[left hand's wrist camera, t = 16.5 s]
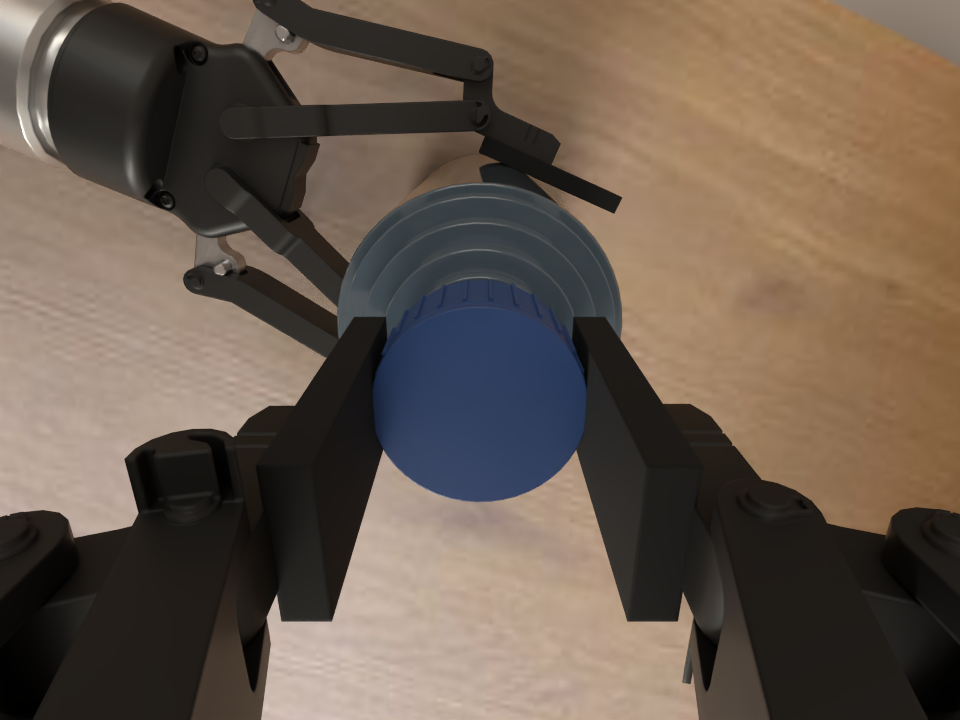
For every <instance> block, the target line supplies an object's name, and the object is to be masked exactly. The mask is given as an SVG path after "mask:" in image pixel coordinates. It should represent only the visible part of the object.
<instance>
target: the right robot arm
mask: <svg viewBox="0 0 960 720" xmlns="http://www.w3.org/2000/svg"><path fill="white" fill-rule="evenodd" d="M253 2H254V4H255V6H256V8H257V11H256V13H255V15H254V18H253V20H252V23H251V25H250V27H249V30H248V32H247V35H246V37H245V39H244V42H243V44H240V43H234V44H227V45H220V44H215V43H213V42H210V41H208V40H206V39H204V38H202V37H199V36H197V35H195V34H193V33H190V32H188V31H186V30H184V29H181V28H179V27H177V26H175V25H172V24H170V23H168V22H166V21H163V20H161V19H159V18H157V17H155V16H152V15H150V14H148V13H146V12H143V11H141V10H139V9H137V8H134V7H132V6H130V5H128V4H124V3H113V2H112V1H111V0H0V145H3V146H5V147H8V148H10V149H12V150H15V151H17V152H20V153H22V154H25V155H27V156H30V157H32V158H35V159H37V160H39V161H42V162H44V163H47V164H49V165H52V166H54V167H57V168H68V169H70V170H71V171H72V172H73V173H75V174H76V175H78V176H80V177H82V178H85V179H87V180H89V181H92V182H94V183H97V184H99V185H102V186H104V187H107V188H109V189H112V190H114V191H117V192H119V193H122V194H124V195H127V196H129V197H132V198H134V199H137V200H139V201H142V202H144V203H147V204H149V205H152V206H155V207H157V208H160V209H163V210H166V211H168V212H171V213H173V214H174V215H176V216H177V217H179V218H180V219H181V220H182V221H183V222H184V223H185V224H186V225H187V226H188V227H189V228H190V229H191V230H192V231H193V232H195V233H196V234H197V237H196V252H195V266H194V268H192V269H190V270H188V271H187V272H186V273H185V274H184V278H183V281H184V285H185V286H186V288H187V289H188V290H189V291H190V292H192V293H195V294H198V295H203V296H207V297H211V298H216V299H220V300H224V301H228V302H232V303H234V304H235V305H237V306H239V307H240V308H242V309H244V310H246V311H247V312H249V313H251V314H252V315H254V316H256V317H257V318H259V319H261V320H263V321H264V322H266V323H268V324H269V325H271V326H273V327H274V328H276V329H278V330H280V331H281V332H283V333H285V334H286V335H288V336H290V337H291V338H293V339H295V340H297V341H298V342H300V343H302V344H303V345H305V346H307V347H308V348H310V349H312V350H313V351H315V352H317V353H319V354H320V355H322V356H324V357H325V358H327V357H328V356H329V354H330V353H331V351H332V350H333V348H334V346H335V345H336V343H337V342H338V340H339V336H338V323H337V316H336V315H334V314H332V313H331V312H329V311H327V310H326V309H324V308H322V307H321V306H319V305H318V304H316V303H314V302H313V301H311V300H309V299H308V298H306V297H304V296H303V295H301V294H299V293H298V292H296V291H295V290H293V289H291V288H290V287H288V286H286V285H285V284H283V283H281V282H280V281H278V280H276V279H275V278H273V277H271V276H270V275H268V274H266V273H264V272H262V271H261V270H258V269H256V268H253V267H251V266H247V265H246V262H245V258H244V256H242V255H241V254H240V253H239V252H237V251H235V250H233V249H232V248H231V247H229V245H228V244H227V241H226V236H227V235H231V234H235V233H239V232H244V231H248V230H252V231H253V232H254V233H255V234H256V235H257V236H258V237H259V238H260V239H261V240H262V241H263V242H264V243H265V244H266V245H267V246H268V247H269V248H271V249H272V250H273V251H274V252H276V253H278V254H281V255H283V256H284V257H286V258H287V259H288V260H289V261H290V262H291V263H292V264H293V265H294V266H295V267H296V268H297V269H298V270H299V271H300V272H301V273H302V274H303V275H304V276H305V277H307V278H308V279H309V280H310V281H311V282H312V283H313V284H314V285H315V286H316V287H317V288H318V289H319V290H320V291H321V292H322V293H323V294H324V295H325V296H326V297H327V298H328V299H329V300H330V301H331V302H333V303H334V304H335V305H336V306H337V307H338V300H339V295H340V290H341V285H342V281H343V279H344V276H345V273H346V270H347V267H348V265H349V263H348V262H347V261H346V260H345V259H344V258H343V257H342V256H341V255H340V254H339V253H338V252H337V251H336V250H335V249H334V248H333V247H332V246H331V245H330V244H329V243H328V242H327V241H326V240H325V239H324V238H323V237H322V236H321V235H320V234H319V233H318V232H317V230H316V229H315V227H314V225H313V223H312V222H311V221H310V219H309V218H308V217H307V216H306V215H305V214H304V213H303V212H302V211H301V210H300V209H299V208H300V207H301V206H302V202H303V199H304V196H305V192H306V174H307V172H308V171H309V169H310V167H311V166H312V164H313V163H314V161H315V159H316V156H317V153H318V149H319V146H320V144H319V143H317V136H343V135H373V134H404V133H434V132H465V131H475V132H477V133H479V134H481V135H484V136H485V138H484V140H483V143H482V145H481V148H480V150H479V153H480V154H483V155H485V156H487V157H489V158H492V159H494V160H496V161H498V162H500V163H503V164H505V165H507V166H509V167H512V168H514V169H516V170H518V171H520V172H523V173H525V174H527V175H529V176H532V177H534V178H536V179H538V180H540V181H543V182H545V183H547V184H549V185H552V186H554V187H556V188H558V189H560V190H563V191H565V192H567V193H569V194H572V195H574V196H576V197H578V198H580V199H583V200H585V201H587V202H589V203H592V204H594V205H596V206H598V207H600V208H603V209H605V210H607V211H609V212H612V213H615V211H616V209H617V207H618V205H619V203H620V201H621V199H622V197H620V196H618V195H616V194H614V193H612V192H610V191H608V190H605V189H603V188H601V187H599V186H597V185H594V184H592V183H590V182H588V181H586V180H583V179H581V178H579V177H577V176H575V175H572V174H570V173H568V172H566V171H564V170H561V169H559V168H557V167H555V166H553V165H551V164H552V162H553V160H554V157H555V155H556V153H557V151H558V148H559V146H560V143H559V141H558V140H557V139H556V138H555V137H554V136H553V135H552V134H550V133H548V132H546V131H544V130H542V129H539V128H537V127H535V126H533V125H531V124H529V123H527V122H524V121H522V120H520V119H518V118H516V117H514V116H511V115H509V114H507V113H505V112H503V111H501V110H500V109H499V108H498V107H497V106H496V105H495V103H494V101H493V98H492V82H493V60H492V57H491V55H490V54H489V53H488V52H487V51H485V50H483V49H480V48H476V47H472V46H468V45H463V44H459V43H455V42H451V41H447V40H442V39H438V38H434V37H430V36H426V35H422V34H417V33H413V32H409V31H405V30H401V29H397V28H392V27H388V26H384V25H380V24H376V23H372V22H367V21H363V20H359V19H355V18H351V17H347V16H342V15H338V14H334V13H330V12H326V11H322V10H317V9H313V8H311V7H310V6H308V5H307V4H305V3H304V2H302V1H301V0H253ZM309 42H311V43H313V44H315V45H317V46H319V47H322V48H324V49H327V50H330V51H333V52H337V53H341V54H346V55H350V56H354V57H358V58H363V59H367V60H371V61H375V62H380V63H384V64H388V65H392V66H397V67H401V68H405V69H410V70H414V71H418V72H422V73H427V74H431V75H435V76H439V77H444V78H448V79H452V80H456V81H461V82H464V92H463V101H435V102H405V103H375V104H345V105H301V104H300V103H299V101H298V100H297V98H296V97H295V95H294V94H293V92H292V91H291V89H290V88H289V86H288V84H287V83H286V81H285V80H284V78H283V77H282V75H281V74H280V72H279V71H278V69H277V68H276V66H275V65H274V63H273V62H272V58H273V57H274V55H275V54H277V53H278V52H281V51H286V52H290V53H293V54H299V53H302V52H303V51H304V50H305V49H306V47H307V45H308V43H309Z"/></svg>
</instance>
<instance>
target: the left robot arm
mask: <svg viewBox="0 0 960 720" xmlns="http://www.w3.org/2000/svg"><path fill="white" fill-rule="evenodd" d="M386 342H387V325H386V317H354V318H353V319H352V321H351V322H350V324H349V325H348V327H347V328H346V330H345V331H344V333H343V334H342V336H341V337H340V339H339V340H338V342H337V343H336V345H335V346H334V348H333V350H332V351H331V353H330V354H329V356H328V357H327V359H326V360H325V362H324V363H323V365H322V366H321V368H320V369H319V371H318V372H317V374H316V375H315V377H314V378H313V380H312V381H311V383H310V384H309V386H308V387H307V389H306V390H305V392H304V393H303V395H302V396H301V398H300V399H299V401H298V402H297V404H296V405H295V406H268V407H267V408H265V409H263V410H262V411H260V412H259V413H257V414H255V415H254V416H252V417H250V418H249V419H248V420H247V421H246V423H245V424H244V425H243V426H242V428H241V429H240V430H239V431H238V433H237V436H234V438H233V437H232V436H230V435H229V434H228V433H226V432H223V431H219V430H214V429H190V430H184V431H179V432H173V433H170V434H167V435H164V436H161V437H158V438H155V439H152V440H150V441H148V442H146V443H145V444H143V445H141V446H139V447H137V448H136V449H134V450H133V451H132V452H131V453H130V454H129V455H128V456H127V457H126V458H125V463H126V467H127V471H128V474H129V478H130V482H131V486H132V490H133V493H134V497H135V501H136V505H137V509H138V512H139V514H138V516H137V518H136V520H135V522H134V523H133V525H132V526H130V527H127V528H123V529H118V530H113V531H108V532H103V533H98V534H92V535H87V536H82V537H77V538H74V537H73V533H72V530H71V527H70V524H69V521H68V519H67V518H65V517H64V516H63V515H62V514H60V513H58V512H51V511H45V510H40V511H30V512H19V513H14V514H10V516H7V515H6V516H2V517H0V720H261V716H262V708H263V700H264V692H265V685H266V677H267V669H268V661H269V654H270V646H271V643H270V636H269V629H268V623H267V618H266V617H267V615H268V613H269V610H270V608H271V606H272V603H273V601H274V599H275V597H276V594H277V597H278V603H279V609H280V615H281V621H332V619H333V616H334V613H335V609H336V606H337V603H338V599H339V596H340V593H341V589H342V586H343V582H344V579H345V576H346V572H347V569H348V566H349V562H350V559H351V556H352V552H353V549H354V546H355V542H356V539H357V536H358V532H359V529H360V526H361V522H362V519H363V516H364V512H365V509H366V505H367V502H368V499H369V495H370V492H371V489H372V485H373V482H374V479H375V475H376V472H377V469H378V465H379V462H380V459H381V455H382V452H383V448H382V446H381V444H380V442H379V440H378V437H377V435H376V431H375V419H374V406H373V392H372V387H373V382H374V379H375V373H376V371H377V368H378V366H379V364H380V361H381V359H382V357H383V355H381V353H382V351H383V349H384V347H385V344H386ZM572 342H573V344H574V346H575V349H576V351H577V352H576V353H577V355H578V357H579V360H580V362H581V364H582V367H583V369H584V378H585V381H586V385H587V397H586V411H585V424H584V433H583V436H582V439H581V441H580V443H579V445H578V447H577V449H576V451H577V454H578V457H579V461H580V464H581V467H582V471H583V474H584V477H585V481H586V484H587V487H588V491H589V494H590V498H591V501H592V504H593V508H594V511H595V514H596V518H597V521H598V524H599V528H600V531H601V534H602V538H603V541H604V544H605V548H606V551H607V555H608V558H609V561H610V565H611V568H612V571H613V575H614V578H615V581H616V585H617V588H618V591H619V595H620V598H621V601H622V605H623V608H624V612H625V615H626V618H627V621H678V617H679V611H680V605H681V599H682V593H684V595H685V597H686V600H687V602H688V604H689V607H690V609H691V611H692V613H693V616H694V618H693V623H692V629H691V635H690V640H689V646H688V651H687V657H686V663H685V668H684V675H683V683H688V684H691V678H692V673H693V676H694V683H695V691H696V699H697V707H698V714H699V720H960V514H957V513H954V512H953V513H950V511H946V510H941V509H928V508H918V507H916V508H909V509H903V510H900V511H899V512H897V513H896V514H895V515H893V516H892V518H891V521H890V524H889V527H888V531H887V534H886V535H881V534H876V533H871V532H866V531H861V530H855V529H850V528H845V527H840V526H836V525H832V524H828V523H827V522H826V520H825V519H824V517H823V515H822V513H821V511H820V510H819V509H818V508H817V507H816V506H815V504H814V503H813V502H812V501H811V500H809V499H808V498H806V497H805V496H803V495H802V494H800V493H799V492H797V491H796V490H793V489H791V488H788V487H786V486H783V485H781V484H778V483H774V482H770V481H765V480H761V478H760V477H759V476H758V475H757V473H756V472H755V471H754V470H753V468H752V467H751V466H750V465H749V463H748V462H747V461H746V460H745V458H744V457H743V456H742V455H741V453H740V452H739V451H738V450H737V448H736V447H735V446H732V442H731V441H730V440H729V438H728V437H727V436H726V435H725V434H723V433H722V430H721V428H720V427H719V426H718V425H717V423H716V422H715V421H714V420H713V418H712V417H711V416H709V415H708V414H706V413H704V412H703V411H701V410H699V409H698V408H696V407H694V406H693V405H691V404H663V403H662V402H661V400H660V399H659V397H658V396H657V394H656V393H655V391H654V390H653V388H652V387H651V385H650V384H649V382H648V381H647V379H646V378H645V376H644V375H643V373H642V372H641V370H640V369H639V367H638V366H637V364H636V363H635V361H634V360H633V358H632V357H631V355H630V354H629V352H628V351H627V349H626V348H625V346H624V345H623V343H622V341H621V340H620V338H619V337H618V335H617V334H616V332H615V331H614V329H613V328H612V326H611V325H610V323H609V322H608V320H607V319H606V317H573V330H572Z"/></svg>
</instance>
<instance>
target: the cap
mask: <svg viewBox="0 0 960 720" xmlns="http://www.w3.org/2000/svg"><path fill="white" fill-rule="evenodd" d="M576 352H577V351H576V349H575V346H574V344H573V342H572V339H571V337H570V335H569V333H568V330H567V328H566V326H565V325H563V326H562V324H561V323H560V321H559V320H558V318H557V317H556V315H555V312H554V310H553V309H552V307H550V308H548V307H547V306H546V305H545V304H544V303H543V302H541V301H540V300H539V299H537V297H536V294H534V293H533V294H532V295H531V294H530V293H528V292H526V291H524V290H522V289H520V288H517V287H516V286H515V284H513V283H512V284H511V285H509V284H505V283H500V282H496V281H492V279H488V281H486V280H474V281H468V279H465V280H464V282H459V283H454V284H451V285H448V286H446V285H445V284H444V285H442V286H441V288H440V289H438V290H436V291H433V292H432V293H430V294H428V295H427V296H425V295H422V296H421V298H420V300H419V301H418V302H417V303H416V304H415V305H413V306H412V307H411V308H410V309H409V311H408V310H407V309H406V310H405V311H404V314H403V316H402V318H401V321H400V322H399V323H398V325H397V327H396V328H395V327H393V329H392V331H391V333H390V335H389V337H388V340H387V342H386V344H385V347H384V349H383V351H382V353H381V355H383V357H382V359H381V361H380V364H379V366H378V368H377V371H376V373H375V379H374V382H373V387H372V392H373V406H374V419H375V431H376V435H377V437H378V440H379V442H380V444H381V446H382V448H383V449H384V451H385V453H386V455H387V456H388V457H389V459H390V460H391V461H392V462H393V464H394V465H395V466H396V467H397V468H398V469H399V470H400V471H401V472H402V473H403V474H404V475H405V476H407V477H408V478H409V479H411V480H412V481H413V482H414V483H416V484H418V485H420V486H421V487H423V488H425V489H426V490H429V491H431V492H433V493H436V494H438V495H441V496H444V497H447V498H451V499H456V500H461V501H470V502H491V501H498V500H504V499H508V498H512V497H516V496H518V495H521V494H524V493H526V492H529V491H531V490H533V489H535V488H536V487H538V486H540V485H542V484H543V483H545V482H546V481H548V480H549V479H550V478H552V477H553V476H554V475H555V474H556V473H557V472H559V471H560V470H561V469H562V467H563V466H564V465H565V464H566V463H567V462H568V461H569V459H570V458H571V456H572V455H573V453H574V452H575V450H576V449H577V447H578V445H579V443H580V441H581V439H582V436H583V433H584V424H585V411H586V397H587V385H586V381H585V378H584V369H583V367H582V364H581V362H580V360H579V357H578V355H577V353H576Z"/></svg>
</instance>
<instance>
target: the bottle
mask: <svg viewBox="0 0 960 720" xmlns="http://www.w3.org/2000/svg"><path fill="white" fill-rule="evenodd" d="M465 279H468V281H474V280H486V281H488V279H492V281H496V282H500V283H505V284H509V285H511V284H512V283H513V284H515V286H516V287H517V288H520V289H522V290H524V291H526V292H528V293H530V294H531V295H532V294H533V293H534V294H536V297H537V299H539V300H540V301H541V302H543V303H544V304H545V305H546V306H547V307H548V308H550V307H552V309H553V310H554V312H555V315H556V317H557V318H558V320H559V321H560V323H561V324H562V326H563V325H565V326H566V328H567V330H568V333H569V335H570V337H571V339H572V330H573V317H606V319H607V320H608V322H609V323H610V325H611V326H612V328H613V329H614V331H615V332H616V334H617V335H618V337H619V338H620V339H621V330H622V304H621V298H620V292H619V287H618V284H617V281H616V277H615V274H614V271H613V269H612V267H611V265H610V262H609V260H608V258H607V256H606V254H605V252H604V251H603V249H602V248H601V246H600V245H599V243H598V242H597V240H596V239H595V237H594V236H593V235H592V234H591V233H590V232H589V231H588V230H587V228H586V227H585V226H584V225H583V224H582V223H581V222H580V221H579V220H578V219H577V218H576V217H575V216H574V215H572V214H571V213H570V212H569V211H568V210H567V209H566V208H565V207H564V206H563V205H562V204H561V203H560V202H558V201H557V200H556V199H555V198H554V197H553V196H552V195H551V194H550V193H549V192H548V191H547V190H546V189H544V188H543V187H542V186H541V185H540V184H539V183H538V182H537V181H536V180H535V179H534V178H533V177H532V176H529V175H527V174H525V173H523V172H520V171H518V170H516V169H514V168H512V167H509V166H507V165H505V164H503V163H500V162H498V161H496V160H494V159H492V158H489V157H487V156H485V155H470V156H464V157H460V158H457V159H454V160H452V161H450V162H447V163H446V164H444V165H442V166H441V167H439V168H438V169H436V170H435V171H434V172H433V173H431V174H430V175H429V176H428V177H427V178H426V179H425V180H424V181H423V182H422V183H421V184H419V185H418V186H417V187H416V188H415V189H414V190H413V191H412V192H411V193H410V194H409V195H408V196H406V197H405V198H404V199H403V200H402V201H401V202H400V203H399V204H398V205H397V206H396V207H395V208H393V209H392V210H391V211H390V212H389V213H388V214H387V215H386V216H385V217H384V218H383V219H382V220H381V221H380V222H379V223H378V224H377V225H376V226H375V227H374V228H373V229H372V230H371V231H370V232H369V233H368V234H367V236H366V237H365V238H364V240H363V241H362V243H361V244H360V245H359V247H358V248H357V250H356V252H355V254H354V255H353V257H352V259H351V261H350V263H349V265H348V267H347V270H346V273H345V276H344V279H343V281H342V285H341V290H340V295H339V300H338V313H337V323H338V336H339V339H340V337H341V336H342V334H343V333H344V331H345V330H346V328H347V327H348V325H349V324H350V322H351V321H352V319H353V318H354V317H386V325H387V340H388V337H389V335H390V333H391V331H392V329H393V327H395V328H396V327H397V325H398V323H399V322H400V321H401V318H402V316H403V314H404V311H405V310H406V309H407V310H408V311H409V309H410V308H411V307H412V306H413V305H415V304H416V303H417V302H418V301H419V300H420V298H421V296H422V295H425V296H427V295H428V294H430V293H432V292H433V291H436V290H438V289H440V288H441V286H442V285H444V284H445V285H446V286H448V285H451V284H454V283H459V282H464V280H465Z"/></svg>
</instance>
